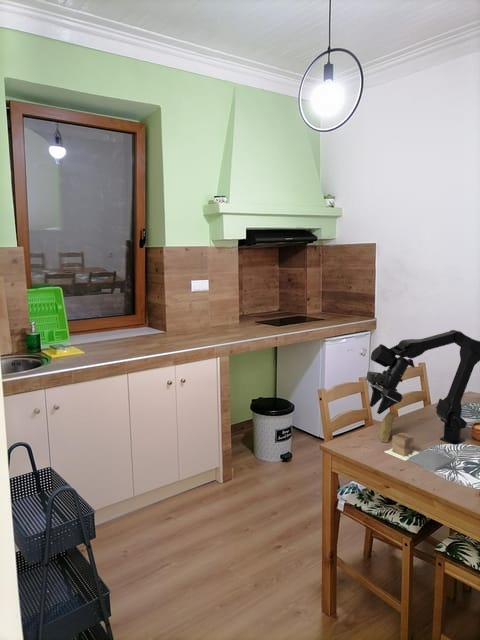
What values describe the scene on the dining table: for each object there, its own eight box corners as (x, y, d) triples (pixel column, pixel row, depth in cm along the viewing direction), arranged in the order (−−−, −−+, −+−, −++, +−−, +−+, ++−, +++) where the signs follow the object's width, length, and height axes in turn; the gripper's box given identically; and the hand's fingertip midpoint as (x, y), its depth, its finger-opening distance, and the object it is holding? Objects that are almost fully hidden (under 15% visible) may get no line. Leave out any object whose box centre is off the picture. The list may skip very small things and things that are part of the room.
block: (401, 448, 167) (401, 432, 166) (413, 452, 163) (413, 436, 162) (392, 451, 164) (392, 436, 164) (404, 456, 160) (404, 440, 159)
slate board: (427, 451, 164) (427, 449, 164) (454, 461, 156) (454, 458, 155) (408, 460, 158) (408, 457, 158) (434, 471, 150) (435, 468, 149)
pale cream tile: (400, 445, 170) (400, 444, 170) (421, 453, 163) (421, 453, 163) (384, 451, 165) (384, 451, 165) (405, 460, 158) (405, 460, 158)
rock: (393, 440, 169) (406, 428, 176) (379, 420, 171) (392, 409, 178) (373, 449, 177) (386, 438, 183) (360, 430, 179) (373, 419, 185)
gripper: (368, 358, 174) (348, 393, 176) (383, 367, 156) (361, 407, 157) (393, 371, 175) (374, 406, 176) (412, 382, 156) (390, 421, 158)
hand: (374, 409), depth 167 cm, fingers open, 9 cm apart
